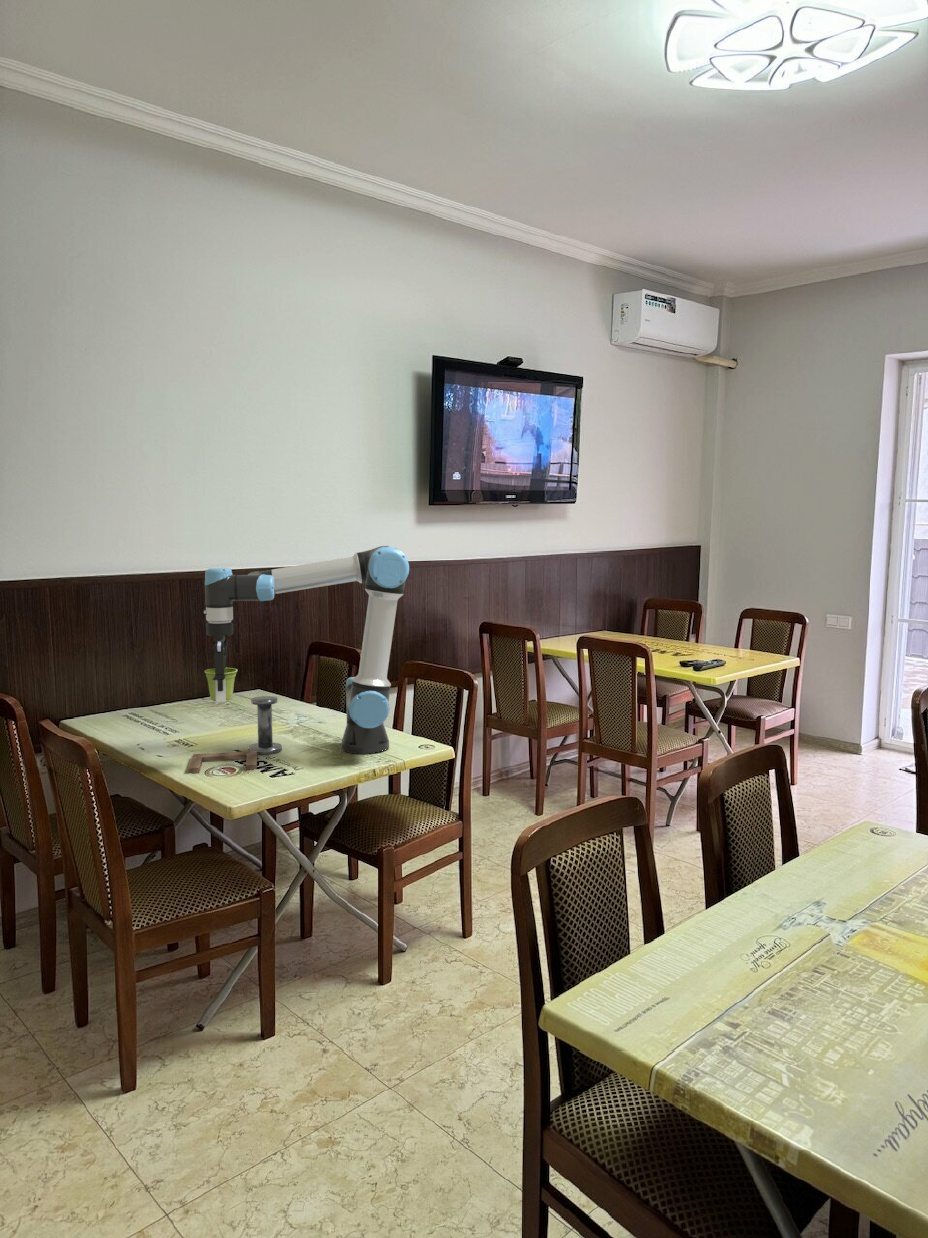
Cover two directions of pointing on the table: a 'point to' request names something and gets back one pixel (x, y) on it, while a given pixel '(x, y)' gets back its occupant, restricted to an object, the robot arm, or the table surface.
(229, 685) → the plant pot
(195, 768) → the notched board
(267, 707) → the spool
